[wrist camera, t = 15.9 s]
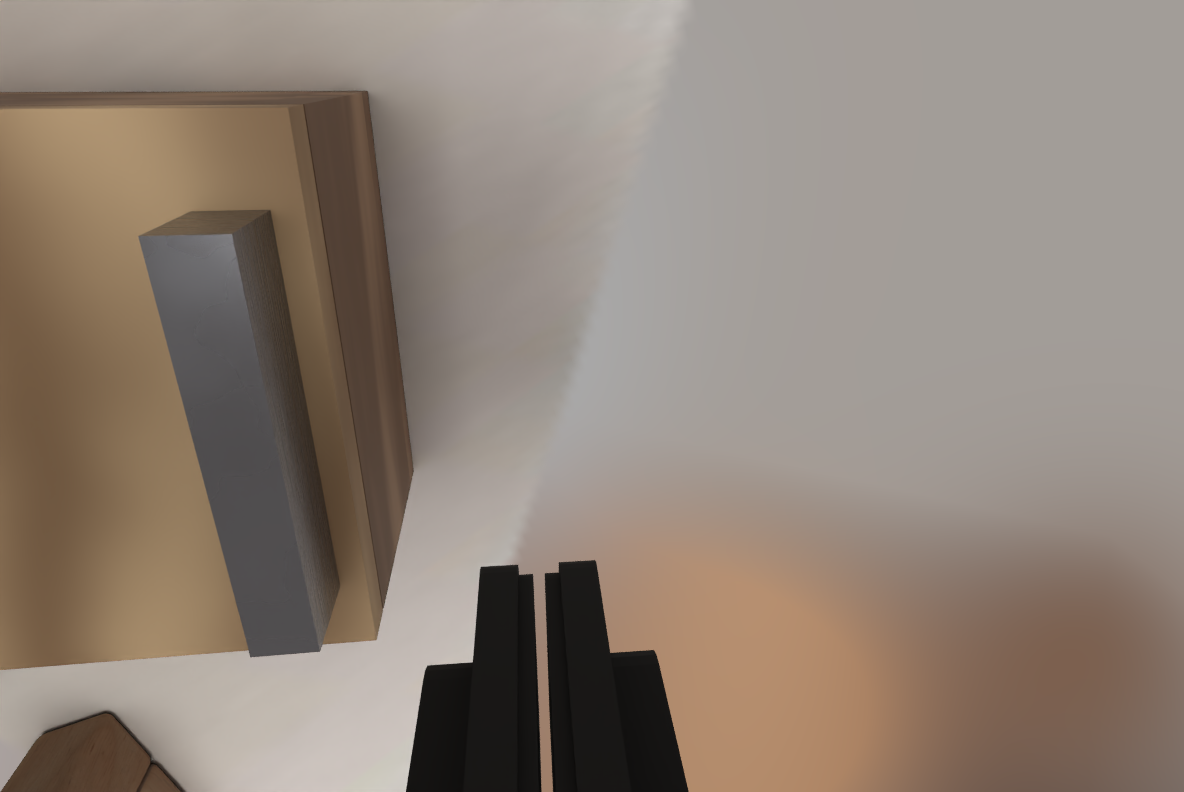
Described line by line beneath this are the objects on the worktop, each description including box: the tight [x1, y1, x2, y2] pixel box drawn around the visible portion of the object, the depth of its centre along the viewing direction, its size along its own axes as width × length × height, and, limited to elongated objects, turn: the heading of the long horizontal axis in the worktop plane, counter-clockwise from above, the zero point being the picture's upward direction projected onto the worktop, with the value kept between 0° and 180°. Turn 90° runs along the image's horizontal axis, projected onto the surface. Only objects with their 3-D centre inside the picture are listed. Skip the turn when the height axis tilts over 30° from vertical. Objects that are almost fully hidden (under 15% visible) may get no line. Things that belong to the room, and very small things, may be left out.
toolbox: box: [0, 91, 414, 609], centre depth 21 cm, size 15×14×8 cm
